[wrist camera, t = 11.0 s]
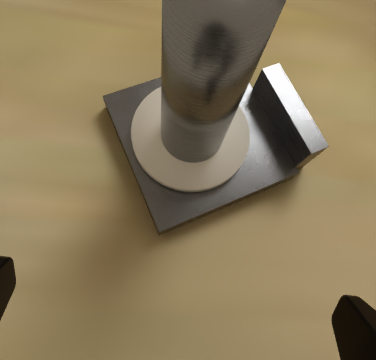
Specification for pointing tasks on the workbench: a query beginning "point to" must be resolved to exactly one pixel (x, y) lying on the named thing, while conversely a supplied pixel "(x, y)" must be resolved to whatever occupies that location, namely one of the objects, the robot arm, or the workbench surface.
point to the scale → (254, 161)
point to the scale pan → (179, 170)
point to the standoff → (208, 68)
